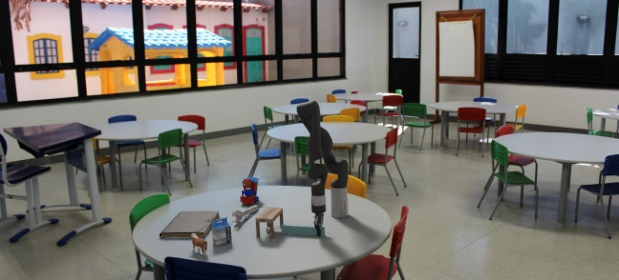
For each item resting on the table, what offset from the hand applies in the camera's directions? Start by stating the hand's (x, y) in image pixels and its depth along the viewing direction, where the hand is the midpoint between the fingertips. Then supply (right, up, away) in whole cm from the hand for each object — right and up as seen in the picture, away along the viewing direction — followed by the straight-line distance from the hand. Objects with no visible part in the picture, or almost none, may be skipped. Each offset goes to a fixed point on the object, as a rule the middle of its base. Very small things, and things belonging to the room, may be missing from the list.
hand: (319, 234), depth 274 cm
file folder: (-70, +1, +18) cm, 72 cm away
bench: (-26, 0, +7) cm, 27 cm away
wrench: (-41, +4, +30) cm, 51 cm away
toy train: (-42, +10, +58) cm, 72 cm away
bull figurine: (-59, -5, -16) cm, 61 cm away
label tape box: (-49, -3, -7) cm, 49 cm away
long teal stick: (-8, 0, +2) cm, 9 cm away
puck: (-26, 0, +7) cm, 27 cm away
